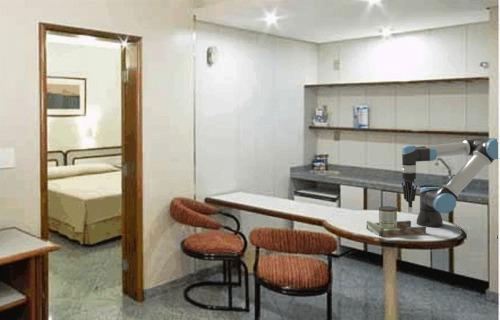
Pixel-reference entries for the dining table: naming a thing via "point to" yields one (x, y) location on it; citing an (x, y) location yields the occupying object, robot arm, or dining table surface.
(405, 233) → the shallow brown tray
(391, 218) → the coffee can
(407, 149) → the robot arm
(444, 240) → the dining table surface
